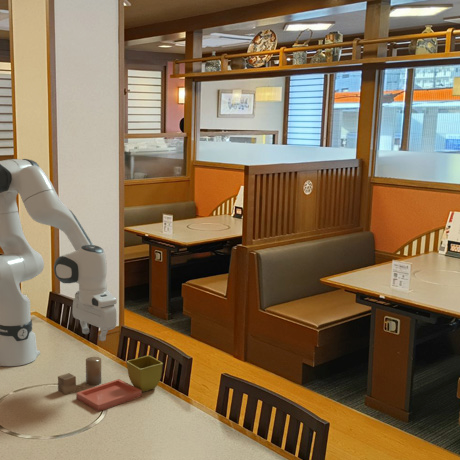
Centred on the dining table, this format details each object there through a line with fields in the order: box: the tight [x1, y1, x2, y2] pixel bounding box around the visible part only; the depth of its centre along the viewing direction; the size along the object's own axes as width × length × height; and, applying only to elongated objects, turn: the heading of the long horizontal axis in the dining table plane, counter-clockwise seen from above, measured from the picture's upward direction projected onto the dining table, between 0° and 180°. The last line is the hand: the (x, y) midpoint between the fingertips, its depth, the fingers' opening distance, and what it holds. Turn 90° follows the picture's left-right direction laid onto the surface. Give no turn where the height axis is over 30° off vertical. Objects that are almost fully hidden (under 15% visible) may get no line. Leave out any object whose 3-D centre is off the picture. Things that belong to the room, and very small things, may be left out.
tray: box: [75, 378, 143, 413], centre depth 191 cm, size 12×16×2 cm
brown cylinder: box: [85, 356, 102, 387], centre depth 202 cm, size 5×5×8 cm
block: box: [57, 372, 77, 396], centre depth 195 cm, size 4×4×5 cm
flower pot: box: [126, 355, 164, 393], centre depth 199 cm, size 9×9×9 cm
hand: (93, 336), depth 200 cm, fingers open, 8 cm apart
